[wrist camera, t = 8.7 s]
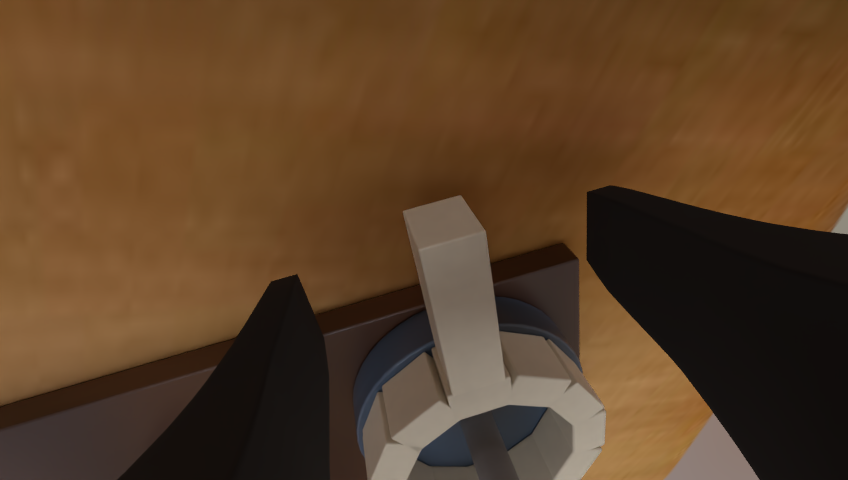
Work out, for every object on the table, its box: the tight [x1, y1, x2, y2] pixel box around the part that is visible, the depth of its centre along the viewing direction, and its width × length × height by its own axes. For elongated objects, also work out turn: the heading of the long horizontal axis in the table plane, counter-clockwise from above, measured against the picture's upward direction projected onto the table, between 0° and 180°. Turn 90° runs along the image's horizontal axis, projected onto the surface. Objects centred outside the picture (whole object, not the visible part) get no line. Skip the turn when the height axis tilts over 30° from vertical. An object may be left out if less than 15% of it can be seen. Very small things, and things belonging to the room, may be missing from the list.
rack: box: [0, 243, 583, 480], centre depth 16 cm, size 22×9×6 cm, turn 101°
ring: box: [363, 195, 606, 480], centre depth 15 cm, size 8×13×2 cm, turn 11°
